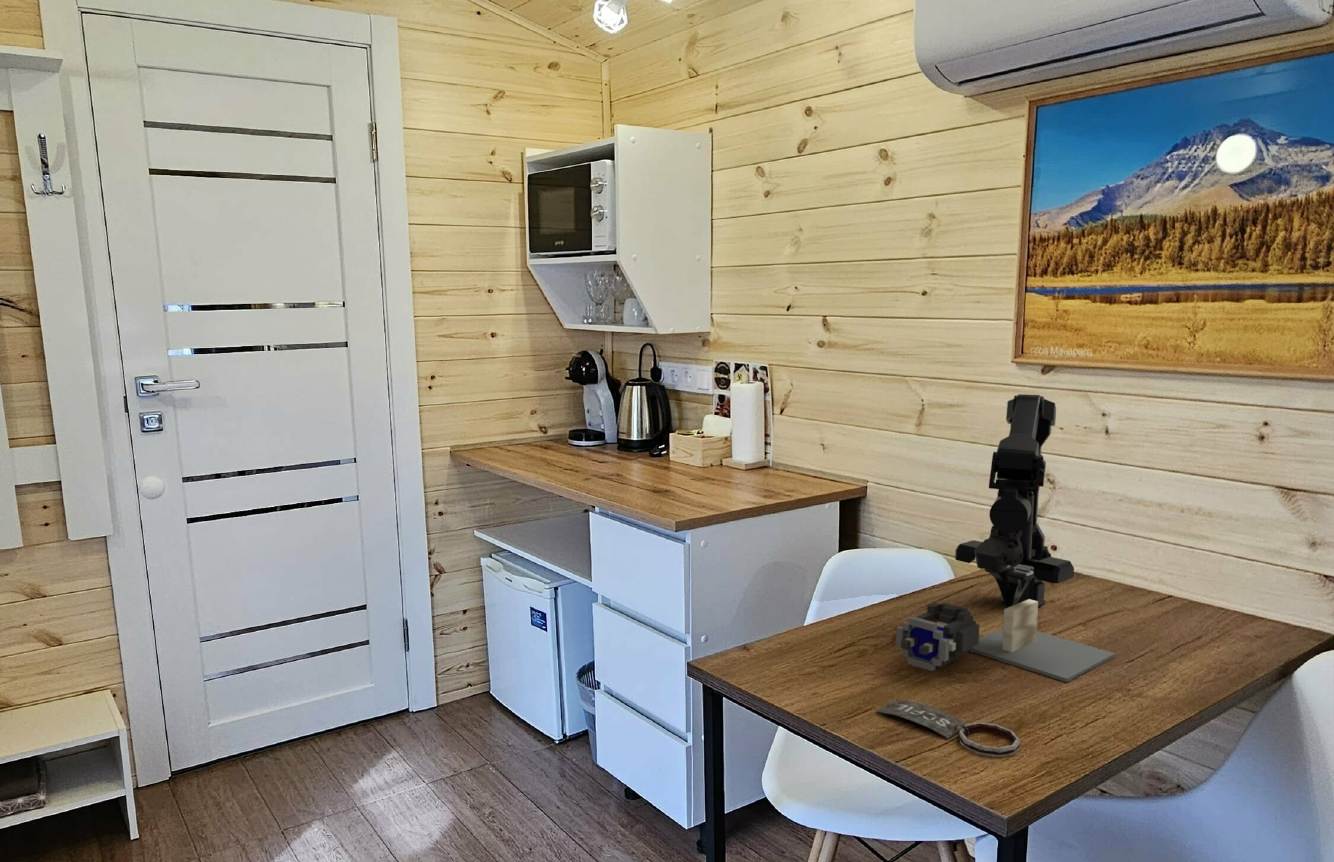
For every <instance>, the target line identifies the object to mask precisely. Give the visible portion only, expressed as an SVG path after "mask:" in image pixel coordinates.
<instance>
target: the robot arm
mask: <svg viewBox="0 0 1334 862" xmlns="http://www.w3.org/2000/svg"><path fill="white" fill-rule="evenodd" d="M1056 416H1057V407H1056V403H1055V402H1053V401H1051V400H1048V399H1046V398H1045V396H1041V395H1040V394H1024V393H1023V394H1021V393H1019V394H1018V395H1014V396H1013V398H1012V399H1010V400H1008V401H1007V404H1006V417H1005V420H1006V423H1007V425H1009V424H1010V429H1009V433H1008V436H1006V437H1004V438H1002V439H1001V440H999V443H998V445H997V450H996V451H993V453H992V458H991V463H990V464H991V465H990V475H989V481H988V489H992V490H997V497H996V499H995V501H994V502H993V504H992V505H991V507H990V509H989V514H988V515H989V520H990V522H991V524H992V525H991V529H990V534H989V537H988V538H986V539H984V540H983V541H979V540H976V539H975V540H974V539H973V540H972V539H971V540H970V541H966V542H965V541H964V542H961V543H959V544H958V545H957V546H956V548H955V549H954V551H955V554H954V555H955V556H954V559H955V561H958V562H962V563H966V564H971V563H972V562H973V561H975V562H976V567H977V568H978V569H979V570H980V569H981V570H983V569H984V571H985V572H986V573H989V574H990V575H991V576H992V577H993V578H994V579H995V581H996V584H997V585H998V589H999V591H1000V592H999V593H1001V594H1000V595H1001V598H998V602H999V603H1002V604H1004V606H1005V609H1006V608H1008V607H1011V606H1013V605H1016V604H1018V603H1021V602H1023V601H1026V600H1028V599H1031V600H1035V601H1038V607H1040V606H1043V605H1045V604H1046V600H1045V585H1046V584H1045V582H1046V583H1049V584H1061V583H1063V582H1066V581H1068V580H1071V579H1073V578H1074V576H1075V567H1074V565H1073V564H1072V562H1071V561H1070V560H1066V559H1063V558H1058V557H1053V556H1052V553H1050V551H1049V547H1048V545H1047V546H1046V545H1045V540H1046V538H1045V537H1046V536H1045V534H1044V533H1043V531H1042V528H1041V527H1040V526H1039V523H1038V509H1039V497H1040V495H1039V494H1040V493H1039V492H1040V487H1043V488H1044V485H1045V478H1046V477H1045V476H1046V467H1047V463H1046V460H1045V459H1044V455H1043V454H1042V447H1043V445H1044V444H1045V443H1046V441H1047V440H1048V439H1049V437H1050V436H1051V434H1052V427H1055V426H1056V418H1057V417H1056Z"/></svg>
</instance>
